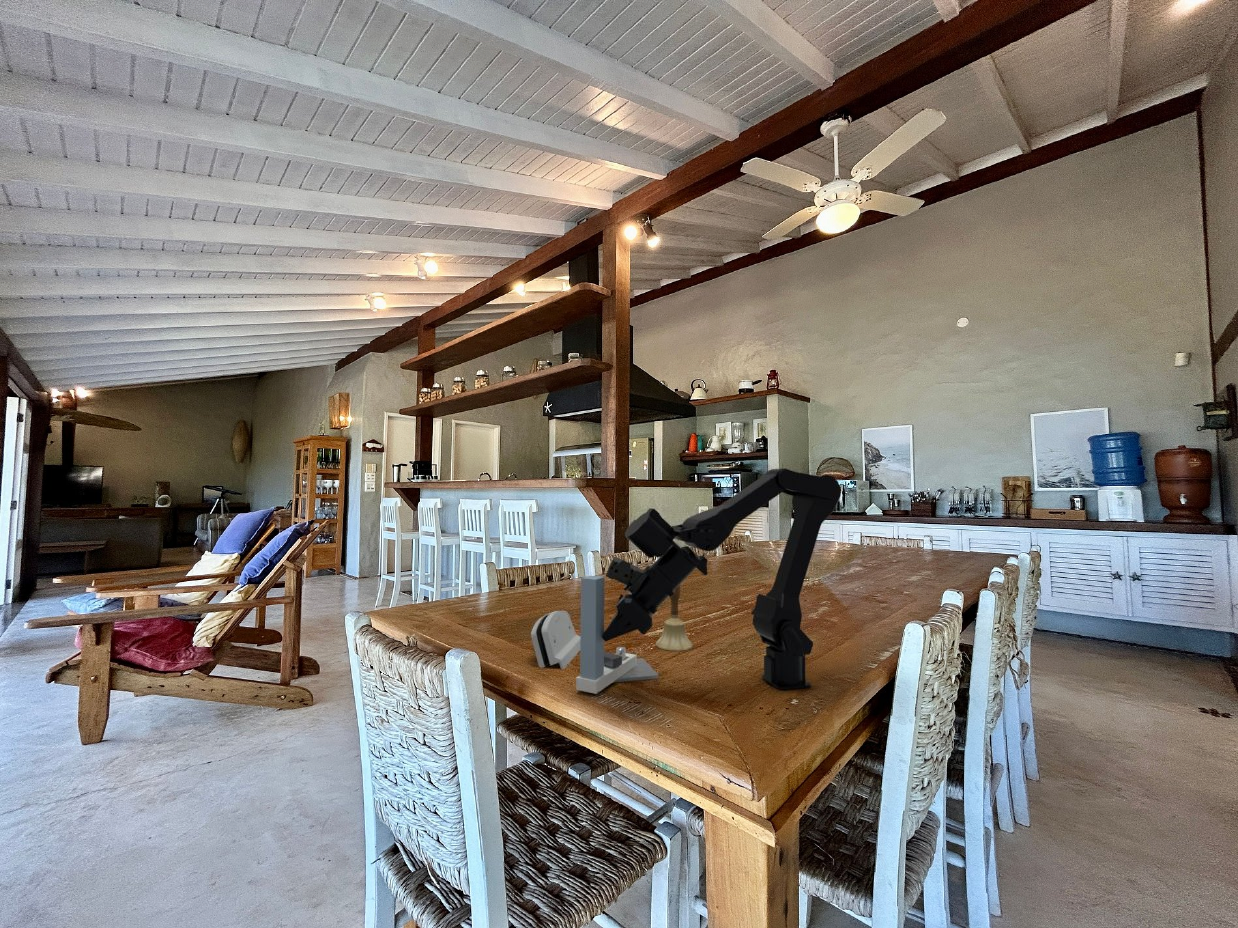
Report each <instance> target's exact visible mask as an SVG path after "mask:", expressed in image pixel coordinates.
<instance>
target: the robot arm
mask: <svg viewBox="0 0 1238 928" xmlns="http://www.w3.org/2000/svg"><path fill="white" fill-rule="evenodd" d="M781 493H782V494H784V495H787V496H790V497H791V496H792V497H791V498H792V499H791V504H792V509H793V513H794V514H793V515H794V518H793V521H792V524H791V528H790V530H789V534H788V538H787V540H786V543H785V546H784V550H783V553H782V557H781V558H780V559H781V560H780V562H779V563H780V564H779V566H778V569H777V573H776V576H775V579H774V581H773V586H772V587H771V589H770V590H769V591H768V592H767V593H766V594H761V593H758V594H757V595H756V601H755V606H754V608H753V609H752V611H751V613H750V614H751V615H752V616H753V617H752V625H753V626H754V629H755V632H756V633H757V634H758V635H759V637H760V640H761V642H762V643H763V644H765V645H768V646H765V655H764V656H763V673H762V674H761V678H762V679H763V680H764V681H766V682H768V684H770V685H772V686H773V687H774V688H776V689H778V690H780V691H783V690H784V691H785V690H792V689H793V690H794V689H802V688H803V689H804V688H811V687H812V684H811V683H810V682H809V681H808V680H806V677H807V675H806V673H807V672H806V655H811V653H812V650H813V646H814V642H813V641H812V639H811V638H809V636H808V635H807V634H806V633H805V632H804V631H803V630H802V629H801V627H802V620H803V614H802V613H803V612H802V609H801V608H802V607H801V603H800V602H801V601H800V595H801V593H802V589H803V585H804V582H805V579H806V576H807V572H808V568H809V566H810V562H811V559H812V555H813V553H814V550H815V546H816V543H817V541H818V540H817V539H818V535H819V534H820V533H819V532H820V530H821V526H822V524H824V522H825V520H826V519H828V517H830V515H831V514H832V513H833V512H835V509H836V507H837V505H838V502H839V501H840V498H841V495H842V486H841V485H840V484H839V481H838V480H837V478H836V477H834V476H832V475H830V474H817V475H816V474H815V475H813V474H809V473H804V472H797V471H794V470H790V469H788V468H782V467H781V468H771V469H769V470H767V471H766V472H765V474H764V475H762V476H761V477H759V478H758V479H756V480H755V481H753V482H752V483H750V484H749V485H748V486H746V487H745V488H743V489H741V491H739V492H738V493H737V492H736V494H734V495H733V496H731V497H730V498H729V499H726V500H725V501H724V502H723V503H721V504H720V505H718V506H715V507H712V508H708V509H707V510H703V511H700V512H698V513H696V514H693V515H691V516H689V517H687V518H686V519H685V520H684V521H683V522H682V523H681V524H677V525H676V524H675V525H671V524H670V523H668V521H666V520H665V519H664V518H663V517H662V515H661V514H660V512H658V511H657V510H656V509H655V508H651V507H649V509H647V511H646V512H644V513H643V514H641V515H640V516H638V518H636V519H634V520H633V521H631V523H630V524H629V526H628V527H627V529H626V530H625V533H624V536H625V537H626V538H627V540H628V541H630V542H631V543H632V544H633V545H634V546H635V547H636V548H637V549H638V550H639V551H641V553H642V554H644V556H646V557H647V558H648V559H651V558H654V557H655V558H657V559H656V561H654V563H652V565H646V567H645V568H644V569H643V568H640V567H638V566H636V565H635V564H633V563H632V562H631V561H626V560H625V559H624V558H622V559H621V558H619V557H617V556H614V557H613V558H612V560H611V562H610V565H609V566H608V568H607V571H606V574H605V576H606V577H607V578H608V579H610V580H615V581H617V582H619V583H621V584H624V587H622V588H623V590H624V591H625V592H626V591H628V593H626V594H624V595H623V594H622V593H620V595H619V598H618V599H617V602H616V606H615V608H616V609H617V611H616V613H615V615H614V616H613V617H612V619H611V621H609V624H608V625H607V627H606V628H605V629H604V633H603V635H602V639H603V640H604V642H608V641H610V640H611V641H612V639H616V638H618V637H621V636H624V635H626V634H628V633H632V632H635V631H638V632H640V633H641V634H642V635H643V636H645V634H646V633H648V631H650V629H651V628H652V627H653V615H654V614H656V612H658V608H659V607H660V606H661V604H663V603H664V601H666V600H667V598H668V597H669V598H670V597H671V596H672V595H673V594H674V590H675V589H676V588H677V587H678V586H679V585H680V586H681V584H682V583H683V582H684V581H685V580H686V579H687V578H688V577H689V576H690V575H691V574H692V573H693V572H694V571H695V570H696V569H697V570H698V571H699V572H700V573H701V574H702V575H704V576H706V575H708V573H709V572H708V560H709V559H708V558H707V557H706V556H705V555H698V554H697V553H696V552H695V551H694V550H693V549H692V548H694V549H698V550H701V551H705V552H713V551H714V550H717V549H718V548H719V547H720V546H721V545H723V543H724V542H725V541H726V540H727V539H729V537H730V536H731V534H732V532H733V531H734V529H735V527H737V525H739V523H741V522H743V520H745V519H747V517H749V516H751V515H752V514H753V513H755V512H756V511H758V510H759V509H760V508H762V507H763V506H765V505H766V504H768V503H769V502H770V501H772V500H773V499H774V498H776V497H778V496H779V495H780V494H781ZM674 540H675V541H674ZM676 540H678V541H681V542H684V544H685V545H684V546H680V545H679V544H678V543H677V542H676Z"/></svg>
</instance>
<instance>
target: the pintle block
mask: <svg viewBox="0 0 1238 928" xmlns="http://www.w3.org/2000/svg"><path fill="white" fill-rule="evenodd" d="M625 653H626V647H625V646H617V647H616V648H615V653H613V652H609V651H606V650H604V665H606V666H609V667H612V668H614V667H617V666H620V665H622V661H624V660H625ZM654 679H656V680H657V679H659V674H658V673H657V672H656V670H655V669H654V668H653V667H652V666H651V665H650V664H649V663H648V662H647V661H646V660H645V659H644V657H640V658H639V657H638V658H637V666H635V667H634V668H632V669H631V670H629V671H628V672H627V673H625V674H624V675H622V676H621V677H619V678H618V679H617V680H615V681H614V682H612V683H621V682H631V681H632V682H634V681H643V680H654ZM612 683H611V684H612Z"/></svg>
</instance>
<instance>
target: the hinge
mask: <svg viewBox="0 0 1238 928" xmlns="http://www.w3.org/2000/svg"><path fill="white" fill-rule="evenodd" d="M530 637H531V641H532V646H533V649H534V654H535V657H536V660H537V665H538V668H539V667H540V668H539V669H543V668H545V667H546V666H548V665H550V666H553V665H555V664H559V667H560V669H561V670H565V668H567V666H568V665H569V664H570V663H571V661H573V659H574V658H575V657H576V655H578V654H579V653H580V640H581V635H578V634H577V633H576V629H575V628H574V625H573V622H572V619H571V617H570V614H569V613H568V611H566V610H555V611H552V612H549V613H546V614H544V615H543V616H541V617H540V618H539V619H537V621H536V622H535V623H534V625H533V628H532V629H531V632H530ZM567 664H568V665H567Z"/></svg>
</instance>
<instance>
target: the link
mask: <svg viewBox="0 0 1238 928" xmlns="http://www.w3.org/2000/svg"><path fill="white" fill-rule="evenodd" d="M604 631H605V576H597V575H587V576H584V577H581V578H580V637H581V640H580V651H579V653H580V654H579V655H580V656H579V659H580V661H579V665H580V666H579V667H580V669H579V675H578V676H576V677H575V690H577V691H582V692H585V693H586V692H587V693H591V694H595V695H597V694H598V693H599V692H601V691H602V690H604V689H605V688H606V687H608V686H609V685H611V684H612V682H613V683H615V682H614V681H615V680H617V679H618V678H619V677H621V676H622V675H624V674H625V673H627V672H628V671H629V670H631V669H632V668H634V667H635V666H637V657H638V655H637V654H634V653H626V652H625V660H624V661H622V665H620V666H617V667H614V668H612V667H609V666H606V665H604V651H605V641H604V640H603V639H602V635H603V633H604Z"/></svg>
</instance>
